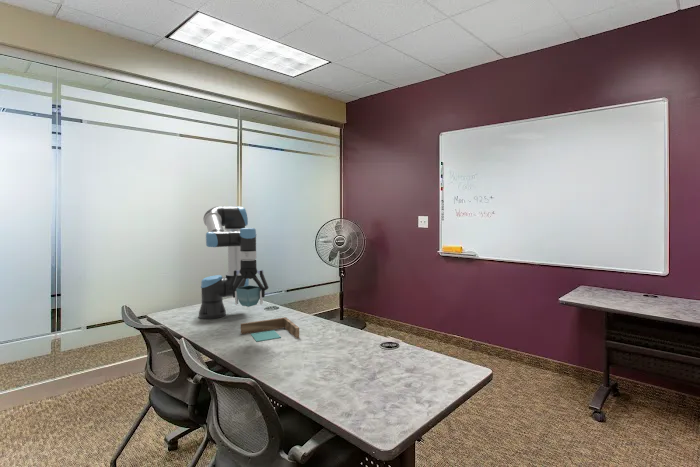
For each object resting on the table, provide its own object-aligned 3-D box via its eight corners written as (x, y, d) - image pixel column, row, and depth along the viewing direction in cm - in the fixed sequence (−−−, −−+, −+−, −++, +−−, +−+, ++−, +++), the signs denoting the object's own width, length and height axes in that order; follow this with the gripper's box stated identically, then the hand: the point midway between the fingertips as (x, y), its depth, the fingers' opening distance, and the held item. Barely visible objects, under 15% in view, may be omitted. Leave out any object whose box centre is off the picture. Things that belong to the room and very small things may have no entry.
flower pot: (249, 302, 185) (249, 284, 185) (262, 304, 180) (261, 286, 180) (235, 306, 178) (235, 287, 177) (248, 308, 173) (248, 289, 172)
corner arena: (240, 333, 186) (240, 323, 186) (286, 326, 197) (286, 317, 197) (250, 346, 168) (249, 335, 168) (299, 337, 180) (299, 327, 180)
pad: (250, 334, 184) (250, 333, 184) (273, 330, 190) (273, 329, 190) (256, 341, 174) (256, 341, 174) (281, 337, 180) (281, 337, 180)
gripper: (221, 260, 174) (222, 306, 175) (271, 260, 174) (272, 305, 176) (226, 258, 181) (227, 302, 182) (274, 258, 182) (274, 302, 183)
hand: (249, 304), depth 179 cm, fingers closed on flower pot, 11 cm apart
